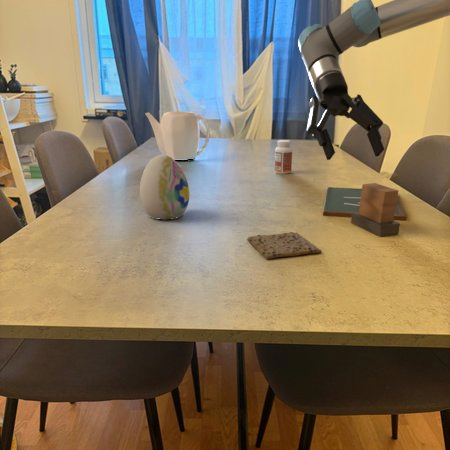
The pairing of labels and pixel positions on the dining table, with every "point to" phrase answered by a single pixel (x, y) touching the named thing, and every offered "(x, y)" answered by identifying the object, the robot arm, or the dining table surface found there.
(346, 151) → the dining table surface
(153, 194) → the decorative egg
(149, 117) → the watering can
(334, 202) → the chalkboard
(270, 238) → the cookie
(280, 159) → the pill bottle
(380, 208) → the eraser
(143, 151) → the dining table surface
